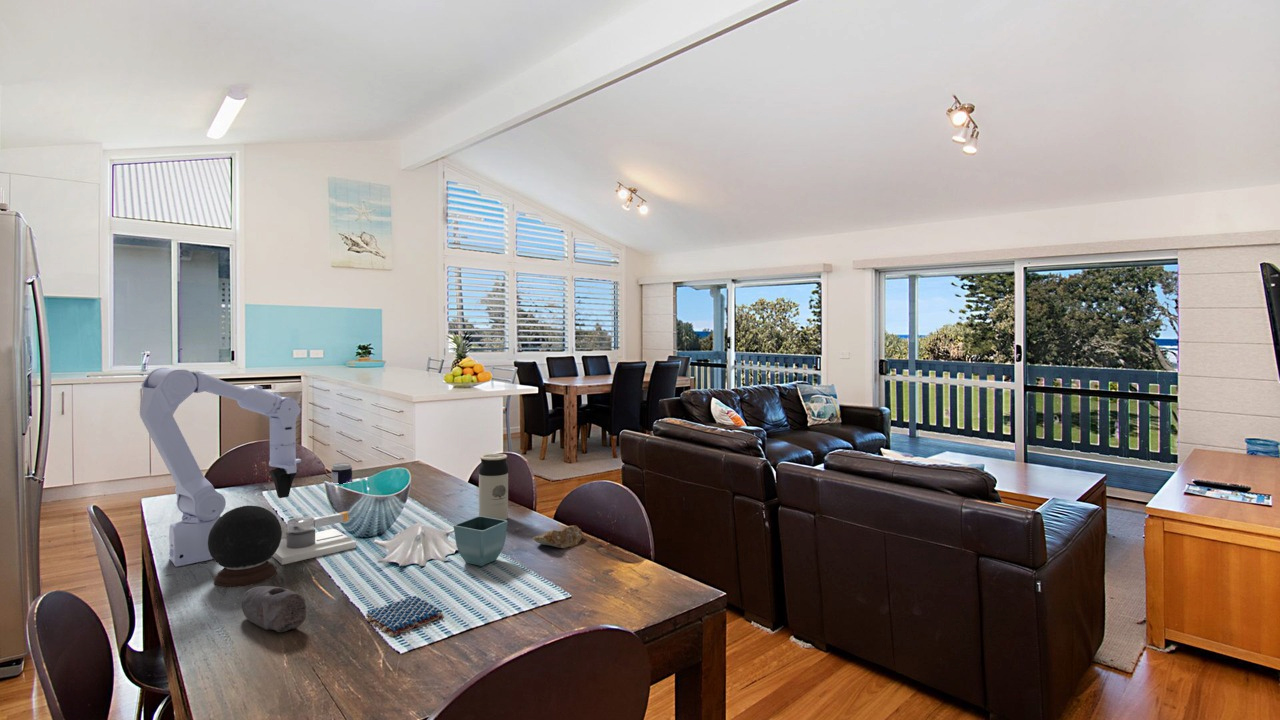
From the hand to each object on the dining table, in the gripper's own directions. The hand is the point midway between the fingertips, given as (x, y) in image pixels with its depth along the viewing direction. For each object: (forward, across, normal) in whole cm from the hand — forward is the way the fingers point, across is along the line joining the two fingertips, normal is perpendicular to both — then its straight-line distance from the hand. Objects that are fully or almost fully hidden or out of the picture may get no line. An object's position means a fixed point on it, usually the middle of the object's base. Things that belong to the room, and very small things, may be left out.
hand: (283, 497), depth 156 cm
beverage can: (+10, +21, -22) cm, 32 cm away
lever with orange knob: (+5, -15, -4) cm, 16 cm away
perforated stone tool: (+10, -52, +17) cm, 56 cm away
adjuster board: (+10, -15, -2) cm, 18 cm away
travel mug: (+10, -25, -46) cm, 53 cm away
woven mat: (+11, -66, -1) cm, 67 cm away
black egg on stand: (+10, -24, +14) cm, 30 cm away
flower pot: (+10, -51, -26) cm, 58 cm away
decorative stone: (+10, -54, -46) cm, 72 cm away
